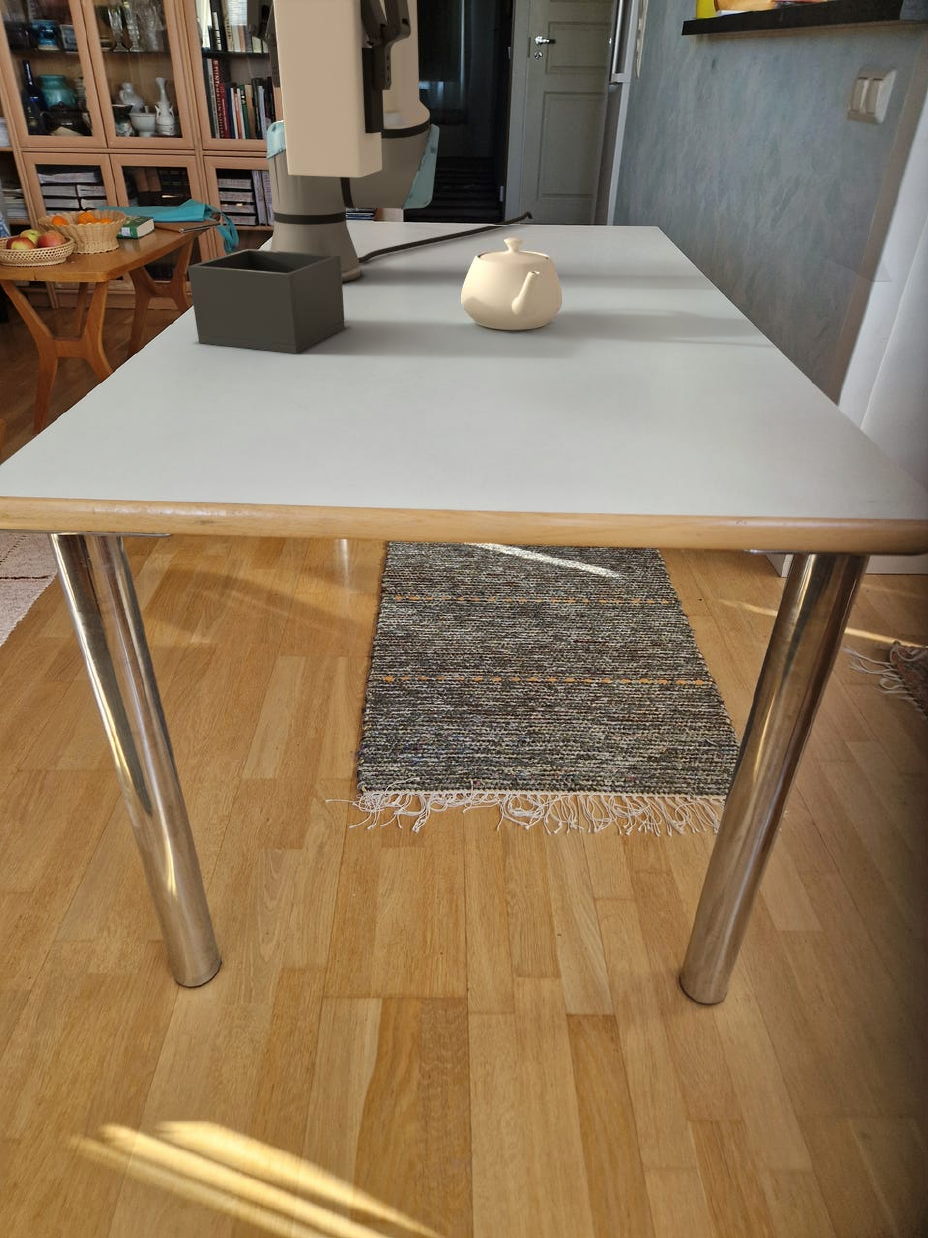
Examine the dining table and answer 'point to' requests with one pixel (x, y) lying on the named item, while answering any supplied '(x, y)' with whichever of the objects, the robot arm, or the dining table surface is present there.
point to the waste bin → (267, 299)
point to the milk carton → (324, 88)
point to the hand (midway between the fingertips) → (333, 130)
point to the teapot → (512, 289)
